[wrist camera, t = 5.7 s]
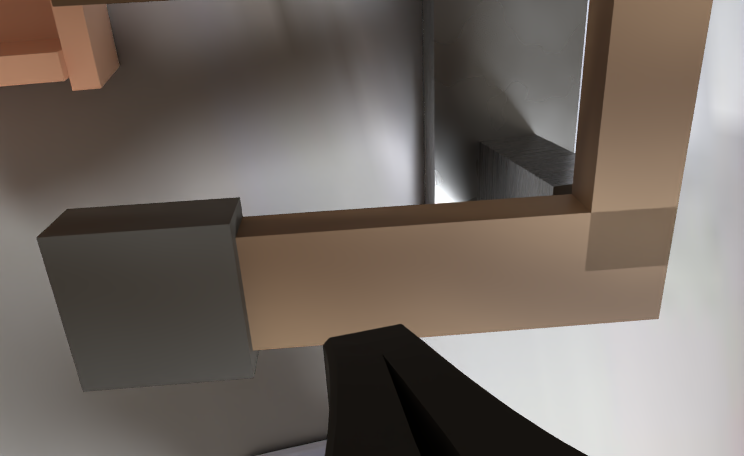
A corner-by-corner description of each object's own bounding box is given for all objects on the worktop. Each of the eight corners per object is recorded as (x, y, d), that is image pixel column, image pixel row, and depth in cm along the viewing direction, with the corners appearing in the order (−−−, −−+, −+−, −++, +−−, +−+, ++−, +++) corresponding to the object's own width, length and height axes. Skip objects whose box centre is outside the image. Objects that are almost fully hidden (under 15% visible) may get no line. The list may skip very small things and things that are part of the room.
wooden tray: (929, 238, 19) (1149, 337, 14) (137, 297, 18) (62, 427, 13) (1167, -417, 13) (1723, -670, 8) (-25, -382, 12) (-293, -645, 7)
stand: (551, 226, 22) (660, 306, 17) (425, 247, 21) (499, 338, 16) (591, -273, 16) (779, -391, 11) (418, -279, 15) (534, -412, 10)
